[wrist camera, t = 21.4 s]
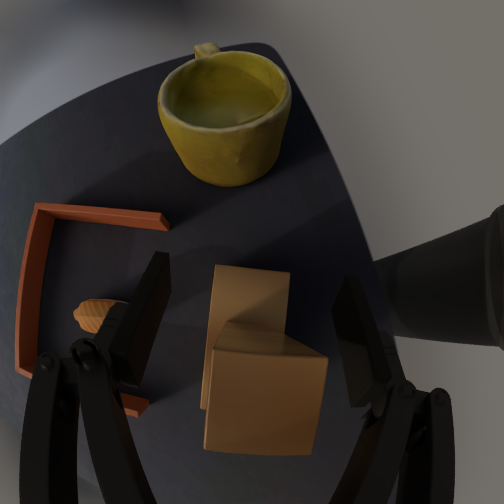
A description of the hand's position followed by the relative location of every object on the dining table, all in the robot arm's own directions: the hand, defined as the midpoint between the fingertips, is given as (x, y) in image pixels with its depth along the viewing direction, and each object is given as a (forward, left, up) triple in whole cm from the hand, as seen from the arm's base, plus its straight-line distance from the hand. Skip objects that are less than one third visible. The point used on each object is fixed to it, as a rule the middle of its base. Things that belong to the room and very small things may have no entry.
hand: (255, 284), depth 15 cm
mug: (+4, -14, -7) cm, 16 cm away
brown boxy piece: (0, +4, -7) cm, 8 cm away
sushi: (+11, +4, -7) cm, 14 cm away
